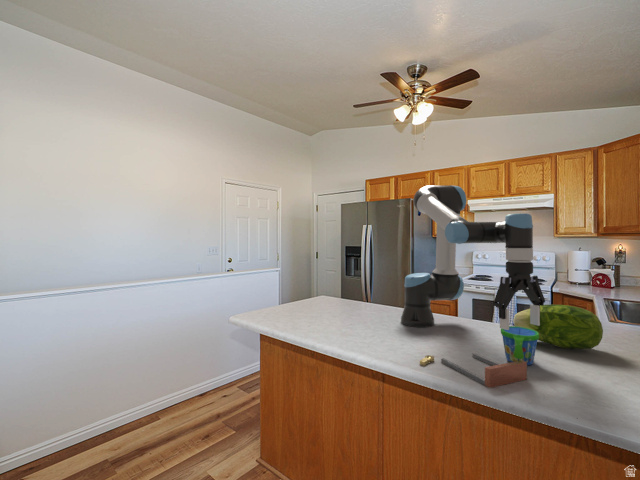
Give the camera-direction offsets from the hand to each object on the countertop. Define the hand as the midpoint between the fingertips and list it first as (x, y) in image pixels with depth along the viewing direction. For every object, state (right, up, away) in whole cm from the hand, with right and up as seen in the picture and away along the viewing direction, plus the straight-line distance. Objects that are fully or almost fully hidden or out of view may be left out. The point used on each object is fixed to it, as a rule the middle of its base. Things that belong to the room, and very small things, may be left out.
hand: (520, 326), depth 102 cm
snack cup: (0, -12, 0) cm, 12 cm away
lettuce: (+22, -11, +15) cm, 29 cm away
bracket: (-16, -12, -5) cm, 20 cm away
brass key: (-31, -12, 0) cm, 33 cm away
